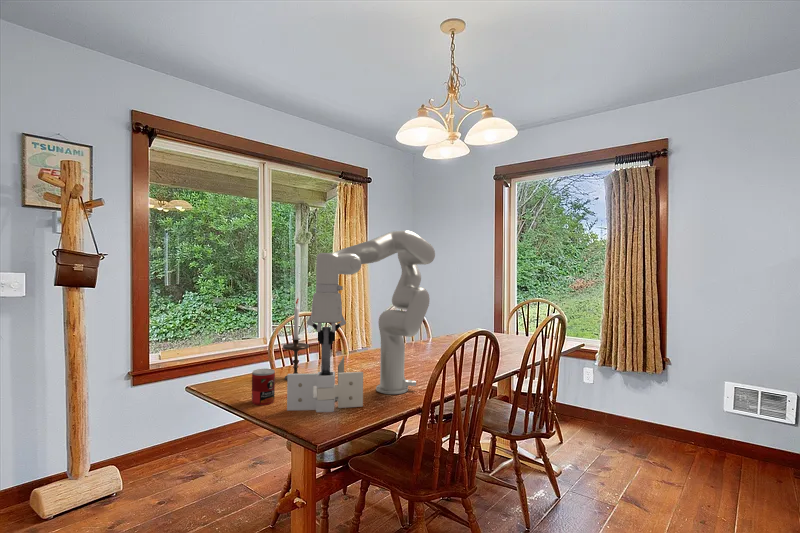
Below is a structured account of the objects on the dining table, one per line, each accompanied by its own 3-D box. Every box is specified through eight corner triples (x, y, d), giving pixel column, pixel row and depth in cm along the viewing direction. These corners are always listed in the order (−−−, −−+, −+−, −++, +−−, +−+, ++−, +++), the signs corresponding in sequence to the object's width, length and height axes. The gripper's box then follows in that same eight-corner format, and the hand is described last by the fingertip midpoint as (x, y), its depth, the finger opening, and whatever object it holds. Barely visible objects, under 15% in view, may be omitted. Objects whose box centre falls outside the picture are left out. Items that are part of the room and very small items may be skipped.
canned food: (262, 407, 145) (262, 374, 145) (246, 402, 149) (247, 371, 149) (279, 401, 152) (279, 370, 152) (264, 397, 156) (264, 367, 156)
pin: (330, 379, 145) (331, 326, 145) (329, 381, 142) (330, 328, 143) (321, 379, 145) (322, 326, 145) (320, 381, 142) (321, 327, 142)
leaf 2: (361, 403, 150) (361, 370, 150) (363, 408, 144) (364, 374, 144) (316, 406, 146) (316, 372, 146) (317, 411, 140) (317, 376, 140)
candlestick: (313, 377, 184) (315, 297, 184) (295, 383, 175) (296, 298, 175) (295, 374, 190) (297, 296, 190) (277, 379, 180) (278, 297, 180)
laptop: (313, 387, 170) (313, 355, 170) (344, 387, 171) (344, 355, 171) (303, 401, 152) (304, 365, 152) (338, 401, 153) (339, 365, 153)
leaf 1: (334, 406, 147) (335, 371, 147) (333, 411, 141) (334, 375, 141) (288, 407, 145) (289, 372, 146) (285, 412, 140) (286, 376, 140)
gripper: (351, 289, 149) (350, 341, 148) (304, 288, 147) (303, 341, 147) (351, 290, 141) (350, 345, 141) (301, 289, 139) (300, 345, 139)
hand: (326, 342), depth 144 cm, fingers closed on pin, 3 cm apart
